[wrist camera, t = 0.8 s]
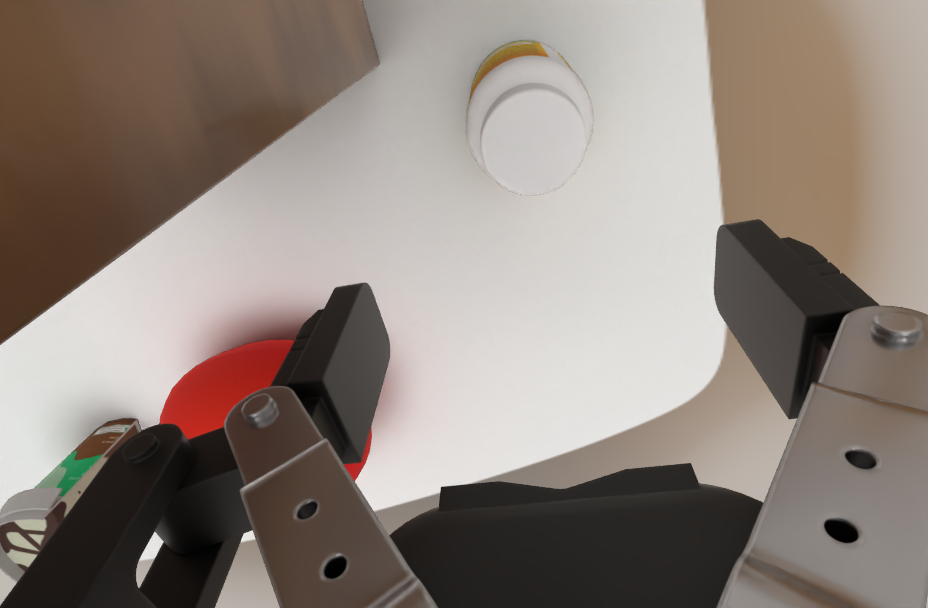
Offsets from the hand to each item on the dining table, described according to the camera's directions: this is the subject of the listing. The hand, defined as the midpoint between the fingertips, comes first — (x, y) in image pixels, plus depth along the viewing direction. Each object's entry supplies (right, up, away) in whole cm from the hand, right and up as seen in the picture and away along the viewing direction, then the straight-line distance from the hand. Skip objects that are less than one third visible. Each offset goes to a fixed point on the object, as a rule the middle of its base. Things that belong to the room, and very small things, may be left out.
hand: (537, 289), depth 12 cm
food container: (-32, -13, +33) cm, 48 cm away
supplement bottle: (+1, +11, +16) cm, 19 cm away
